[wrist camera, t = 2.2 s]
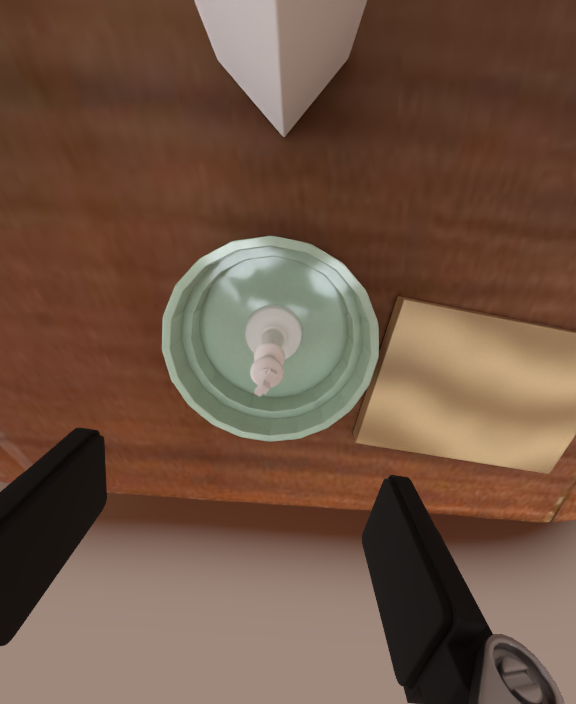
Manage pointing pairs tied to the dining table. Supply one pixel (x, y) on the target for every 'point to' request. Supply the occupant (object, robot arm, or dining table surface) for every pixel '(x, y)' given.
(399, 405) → the board
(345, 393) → the bowl
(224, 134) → the dining table surface
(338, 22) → the milk
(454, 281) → the dining table surface
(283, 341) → the chess piece
